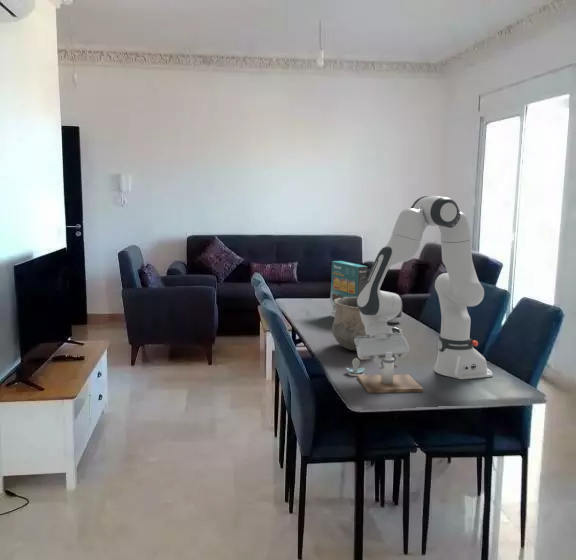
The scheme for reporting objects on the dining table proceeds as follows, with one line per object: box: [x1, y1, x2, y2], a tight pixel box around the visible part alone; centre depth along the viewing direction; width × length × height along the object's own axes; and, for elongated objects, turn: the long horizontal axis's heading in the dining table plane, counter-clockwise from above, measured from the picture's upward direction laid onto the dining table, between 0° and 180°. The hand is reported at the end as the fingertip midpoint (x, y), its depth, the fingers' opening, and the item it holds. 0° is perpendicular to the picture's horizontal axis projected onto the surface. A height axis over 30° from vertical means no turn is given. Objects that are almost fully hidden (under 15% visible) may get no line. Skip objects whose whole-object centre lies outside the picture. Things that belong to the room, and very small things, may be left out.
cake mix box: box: [329, 260, 368, 318], centre depth 330 cm, size 22×6×30 cm, turn 34°
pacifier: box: [346, 357, 366, 377], centre depth 240 cm, size 7×6×6 cm
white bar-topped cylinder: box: [380, 352, 395, 384], centre depth 228 cm, size 5×5×11 cm
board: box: [357, 374, 424, 394], centre depth 230 cm, size 20×16×1 cm
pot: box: [331, 297, 366, 352], centre depth 275 cm, size 25×24×21 cm
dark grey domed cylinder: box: [387, 310, 403, 324], centre depth 328 cm, size 10×10×15 cm
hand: (388, 367), depth 228 cm, fingers closed on white bar-topped cylinder, 4 cm apart
